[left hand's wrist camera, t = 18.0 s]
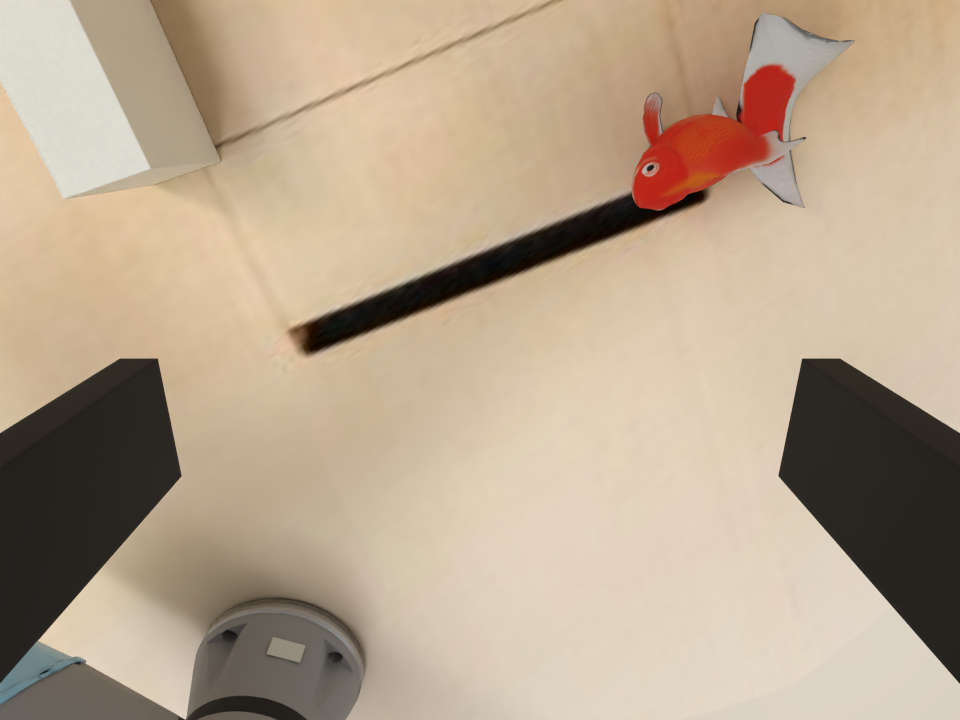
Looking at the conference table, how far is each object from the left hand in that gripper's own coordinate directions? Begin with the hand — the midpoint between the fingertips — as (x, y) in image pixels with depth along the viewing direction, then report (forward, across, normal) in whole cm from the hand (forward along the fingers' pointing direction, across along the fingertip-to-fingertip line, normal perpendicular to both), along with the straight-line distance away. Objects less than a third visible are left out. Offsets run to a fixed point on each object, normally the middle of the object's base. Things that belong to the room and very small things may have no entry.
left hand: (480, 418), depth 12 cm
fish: (+32, -16, -6) cm, 36 cm away
